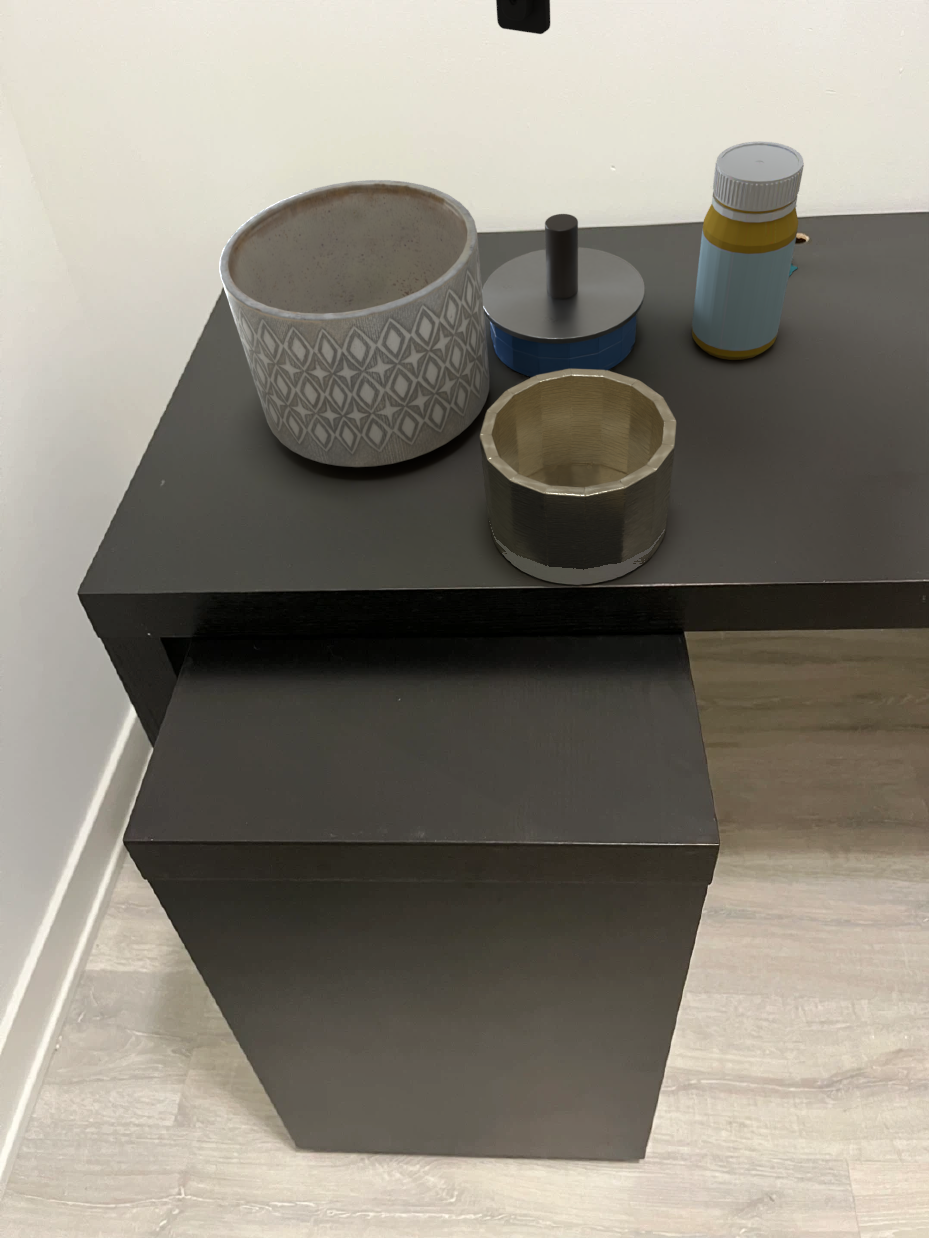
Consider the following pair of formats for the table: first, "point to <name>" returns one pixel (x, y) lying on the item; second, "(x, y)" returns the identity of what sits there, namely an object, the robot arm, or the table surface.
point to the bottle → (747, 249)
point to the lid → (563, 290)
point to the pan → (564, 351)
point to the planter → (361, 319)
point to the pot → (578, 468)
